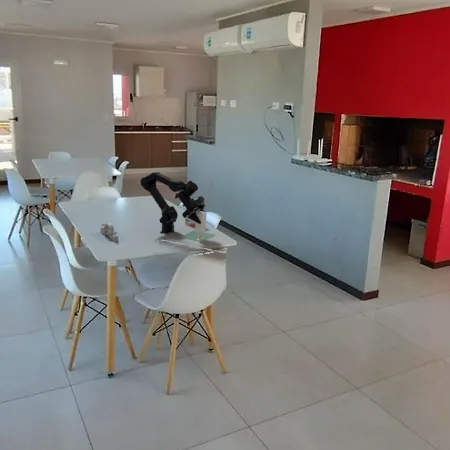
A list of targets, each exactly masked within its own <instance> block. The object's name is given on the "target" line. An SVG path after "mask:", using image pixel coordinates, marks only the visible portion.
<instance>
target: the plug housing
mask: <svg viewBox="0 0 450 450" xmlns="http://www.w3.org/2000/svg"><path fill="white" fill-rule="evenodd" d="M207 213H208V212H206V211H203V212H202V211H200V212H198V213H196V214H197V216H198V218H199V220H200V221H201V224H199V223H197V222H195V226H194V231H195V232H197V233H203V232H204V233H205V232H206V230H207V229H206V228H207V215H208V214H207Z"/></svg>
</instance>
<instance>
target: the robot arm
mask: <svg viewBox="0 0 450 450" xmlns="http://www.w3.org/2000/svg"><path fill="white" fill-rule="evenodd" d="M157 182H160V183H161V184H162V185H163V184H164V185H165V186H167V187H168V188H169V190H171V191H172V192H173V193H175V196H174V199H175V200H176V199H179V200H180V202H181V203H182V207H183V208H184V207H185V210H186V209H187V210H186V211H185V210H184V211H183V212H182V217H183V219H185V218H186V217H187V216H188V217H187V218H189V219H191V220H193V221H195V222H197V223H199V224H201V221H200V220H199V218H198V216H197V214H196V213H198V212H200V211H202V212H204V211H205V208H206V204H205V197H203V196H202V195H200V196H197V198H196V199H195V198H193V197H192V196H193V195H194V194H195V193H196V192H197V191H198V190H199V187H198V185H197V184H196V183H195V182H193V181H192V180H188V181H187V183H185V182H184V181H183V180H178V179H172V178H171V177H168V176H167V175H164V174H161V172H159V171H154V172H151V173H150V174H148V175H146V176H145V177H144V176H143V177H142V178H141V179H140V186H141V187H142V188H143V189H144V190H145V191H147V192H149V193H150V195H151V196H152V198H153V200H154V201H155V203H156V204H157V206H158V207H159V209H160V211H161V217H160V218H159V223H160V224H161V231H160V234H164V235H168V234H171V233H175V225H174V224H175V223H176V222H177V219H178V214H179V213H178V210H176V208H175V206H174V205H172V206H170V205H169V204H168V203H167V201H166V200H165V197H163V196H162V194H161V192H160V191H159V189H158V188H157Z"/></svg>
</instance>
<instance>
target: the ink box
mask: <svg viewBox="0 0 450 450" xmlns="http://www.w3.org/2000/svg"><path fill="white" fill-rule="evenodd" d="M186 210H187V209H186V208H185V210H184V212H185V211H186ZM187 217H188V216H187ZM187 217H186V218H184V226H191V227H195V221H193V220H191V219H189V218H187Z"/></svg>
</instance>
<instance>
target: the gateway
mask: <svg viewBox="0 0 450 450" xmlns="http://www.w3.org/2000/svg"><path fill="white" fill-rule="evenodd" d="M100 225H101V227H99V228H100V230H99V231H100V233H101V234H102V235H104V236H107V237H109V239H110V240H111V239H112V241H113V242H118V241H119V235H117V234H118V232H117V230H116V231H115V227H114V225H113V224H112V223H111V222H108V223H104V222H103V223H100Z"/></svg>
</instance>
